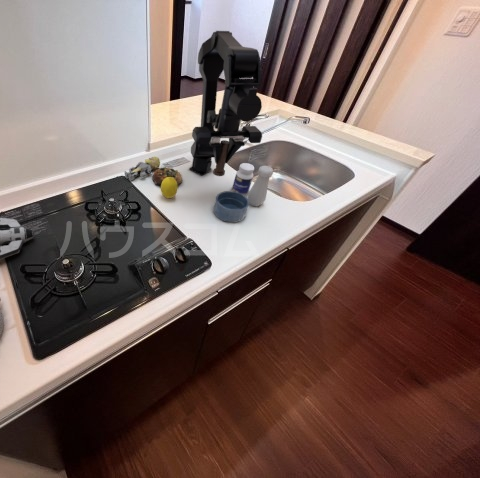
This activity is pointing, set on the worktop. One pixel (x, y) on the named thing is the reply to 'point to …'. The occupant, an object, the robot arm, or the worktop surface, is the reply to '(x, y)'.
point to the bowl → (231, 206)
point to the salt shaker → (260, 186)
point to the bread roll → (166, 175)
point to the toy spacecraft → (12, 237)
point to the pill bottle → (243, 179)
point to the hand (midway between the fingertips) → (220, 163)
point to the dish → (1, 321)
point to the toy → (143, 168)
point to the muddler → (222, 159)
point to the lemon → (169, 187)
